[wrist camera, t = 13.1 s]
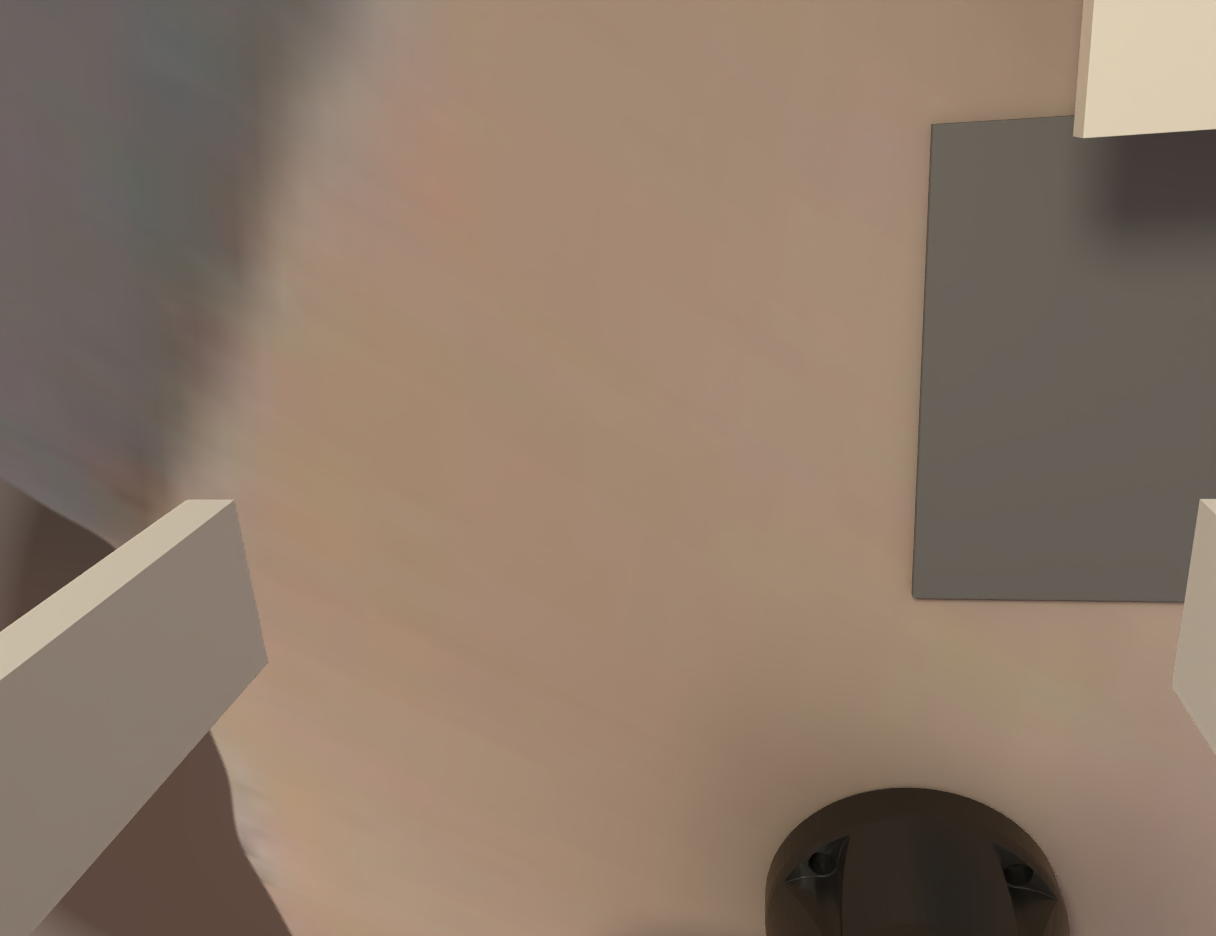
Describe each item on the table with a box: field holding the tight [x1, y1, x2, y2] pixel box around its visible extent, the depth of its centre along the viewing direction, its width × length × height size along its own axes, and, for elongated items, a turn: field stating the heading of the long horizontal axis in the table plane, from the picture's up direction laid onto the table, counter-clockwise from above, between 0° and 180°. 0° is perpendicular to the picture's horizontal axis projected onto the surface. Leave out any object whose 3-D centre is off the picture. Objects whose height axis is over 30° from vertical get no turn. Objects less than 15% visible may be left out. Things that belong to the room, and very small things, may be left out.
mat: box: [912, 115, 1216, 602], centre depth 42 cm, size 21×21×1 cm
